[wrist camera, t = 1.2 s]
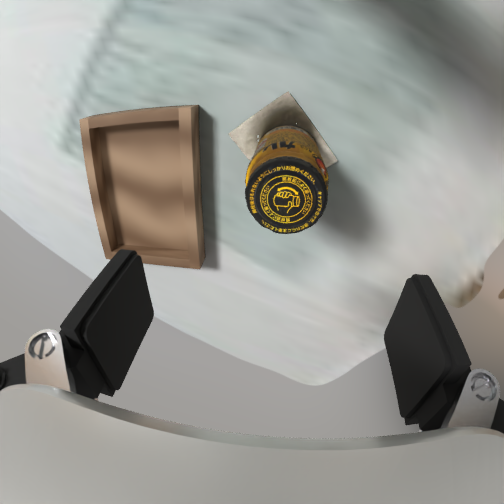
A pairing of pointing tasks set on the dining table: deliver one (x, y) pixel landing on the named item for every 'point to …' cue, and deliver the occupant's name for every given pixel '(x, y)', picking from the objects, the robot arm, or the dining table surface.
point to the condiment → (284, 166)
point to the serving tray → (147, 183)
